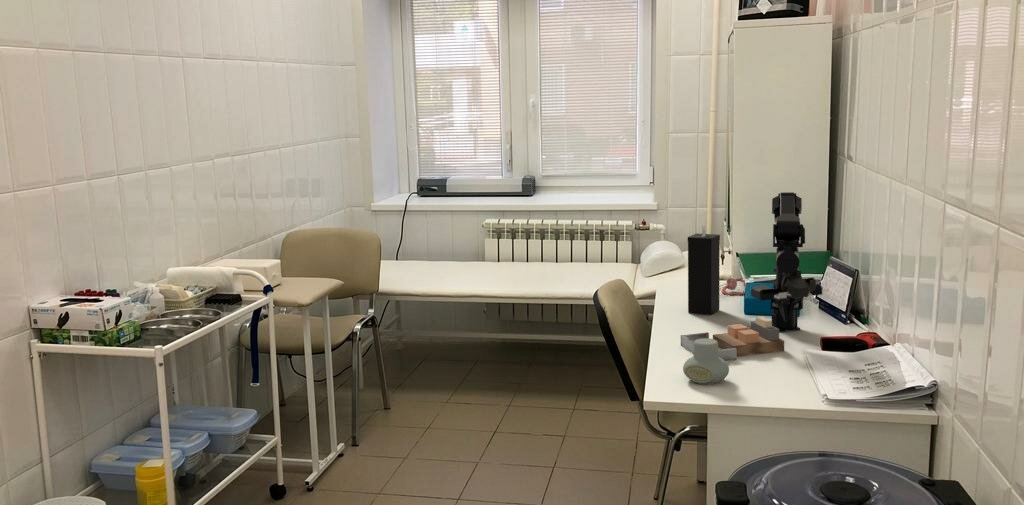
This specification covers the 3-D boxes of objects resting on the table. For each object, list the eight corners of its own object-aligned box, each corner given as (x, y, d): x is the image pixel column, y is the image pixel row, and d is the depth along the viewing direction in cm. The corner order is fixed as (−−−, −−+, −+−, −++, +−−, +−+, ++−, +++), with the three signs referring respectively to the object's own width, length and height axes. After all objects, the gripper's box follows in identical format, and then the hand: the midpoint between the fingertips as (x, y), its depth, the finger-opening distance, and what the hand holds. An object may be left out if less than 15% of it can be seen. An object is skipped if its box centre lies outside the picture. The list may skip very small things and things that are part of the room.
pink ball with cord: (753, 268, 302) (736, 279, 280) (762, 291, 302) (746, 304, 280) (700, 287, 312) (680, 300, 290) (709, 310, 312) (690, 324, 290)
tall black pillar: (719, 310, 276) (720, 224, 271) (711, 315, 270) (711, 228, 265) (696, 307, 280) (696, 223, 275) (687, 313, 274) (687, 226, 269)
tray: (707, 342, 241) (707, 332, 240) (736, 359, 224) (736, 348, 224) (680, 345, 239) (680, 335, 238) (707, 363, 222) (707, 352, 222)
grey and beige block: (760, 330, 240) (760, 314, 239) (779, 339, 230) (779, 322, 229) (750, 331, 239) (750, 315, 238) (768, 341, 230) (769, 323, 229)
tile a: (740, 332, 238) (740, 324, 238) (747, 336, 235) (747, 327, 234) (727, 334, 238) (727, 325, 237) (734, 337, 234) (734, 328, 233)
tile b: (751, 338, 233) (751, 329, 232) (758, 342, 229) (758, 333, 228) (737, 339, 232) (738, 330, 231) (745, 343, 228) (745, 334, 228)
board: (761, 339, 241) (761, 329, 241) (784, 351, 230) (784, 340, 229) (712, 344, 238) (712, 334, 238) (733, 357, 227) (733, 346, 226)
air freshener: (677, 381, 209) (677, 342, 207) (692, 372, 216) (692, 334, 214) (719, 389, 203) (719, 348, 201) (733, 379, 209) (734, 340, 207)
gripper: (771, 274, 223) (770, 331, 226) (835, 268, 227) (833, 324, 230) (750, 266, 234) (749, 321, 237) (811, 260, 238) (810, 315, 241)
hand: (786, 321), depth 236 cm, fingers closed
